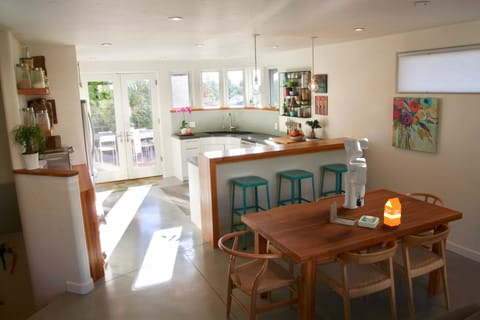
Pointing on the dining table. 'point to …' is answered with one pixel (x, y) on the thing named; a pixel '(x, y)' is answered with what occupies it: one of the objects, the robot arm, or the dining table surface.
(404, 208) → the dining table surface
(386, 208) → the orange juice
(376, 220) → the sage bin
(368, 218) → the stone cube
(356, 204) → the stone cube
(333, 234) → the dining table surface
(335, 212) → the brown hollow box
